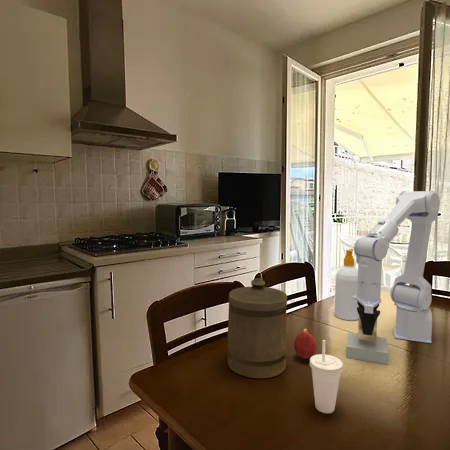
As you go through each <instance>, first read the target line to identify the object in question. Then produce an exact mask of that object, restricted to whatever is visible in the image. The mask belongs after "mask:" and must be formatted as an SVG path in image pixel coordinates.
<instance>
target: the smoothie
mask: <svg viewBox="0 0 450 450" xmlns="http://www.w3.org/2000/svg"><path fill="white" fill-rule="evenodd" d="M321 348H322V350H321V354H320V353H319V354H313V355H312V356H311V357H309V367H310V368H311V375H312V377H311V378H312V386H313V397H314V406H315V408H316V410H317V411H318V412H321V413H323V414H332V413H333V412H335V409H336V408H335V407H336V403H337V397H338V393H339V392H338V391H339V385H340V379H341V373H342V372H343V370H344V363H343V361H342V360H341V359H339V358H338V357H336V356H334V355H330V354H326V340H325V339H322V347H321Z"/></svg>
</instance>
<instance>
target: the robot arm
mask: <svg viewBox="0 0 450 450" xmlns="http://www.w3.org/2000/svg"><path fill="white" fill-rule="evenodd" d="M440 204H441V201H440V198H439V194H438V193H437V192H436V190H428V191H427V190H424V191H423V190H420V191H417V190H416V191H415V190H414V191H409V190H402V191H400V193H399V194H398V195H397V196H396V199H395V206H394V208H393V209H392V210H391V212H390V213H389V214H388V216H387V217H386V218H381V219H379V220H378V221H377V223H376V224H375V225H374V226H373V228H371V230H369V232H368V233H367V234H366V236H361V237H360V238H358V239H357V240H356V241H355V244H354V246H353V252H354V255H355V256H356V257H355V258H356V263H357V267H358V268H357V270H358V288H357V296H356V295H353V300H357V304H358V306H359V307H357V312H358V314H359V316H360V319H361V324H362V331H363V334H364V335H372V333H373V330H374V325H375V322H376V320H377V321H378V318H379V316H380V315H381V310H378V309H379V307H380V304H382V299H381V290H382V289H381V288H382V286H381V285H382V265H383V261H382V260H384V259H385V258H386V256H387V255H388V249H389V248H390V244H391V242H392V240H394V239H395V237H396V236H397V235H398V234H399V226H400V225H401V224H402V223H403V222H404V221H405V220H406V219H407V220H409V221H410V222H411V230H410V235H409V240H408V241H409V242H408V247H407V254H406V257H405V258H406V259H405V265H404V271H403V273H402V274H400V275H399V276H397V277H395V278H394V281H393V285H392V287H391V289H390V299H391V301H392V302H393V303H394V304H393V305H394V306H396V310H395V311H396V312H395V313H396V315H395V327H393V328H392V331H393V335H394V338H395V339H397V340H398V339H399V340H406V341H413V342H419V343H427V344H432V335H433V334H432V331H433V313H432V310H431V309H428V308H429V307H430V306H431V303H432V285H431V283H429V282H428V280H427V279H425V278H424V272H425V265H426V260H427V253H428V248H429V242H430V236H431V230H432V224H433V222H435V221H437V219H438V215H439V210H440Z"/></svg>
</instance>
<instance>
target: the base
mask: <svg viewBox="0 0 450 450" xmlns="http://www.w3.org/2000/svg"><path fill="white" fill-rule="evenodd" d="M345 348H346V351H345V352H346V353H345V354H346V356H345V358H346V359H347V358H348V359H353V360H357V361H359V360H360V361H365V362H371V363H376V364H381V365H389V347H388V341H387V337H381V336H377V338H376V341H369V340H363V339H358V333H354V332H347V340H346V347H345Z"/></svg>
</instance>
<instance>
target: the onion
mask: <svg viewBox="0 0 450 450" xmlns="http://www.w3.org/2000/svg"><path fill="white" fill-rule="evenodd" d="M308 330H309V329H307V328H304V329H303V331H302V332H301V333H300V332H299V334H298V335H296V337H295V338H294V341H293V349H294V351H295V353H296V354H297V355H298V356H299V357H300V358H301V359H302V360H307V359H308V358H309V359H310V358H311V357H312V356H314V355H315V353H316V351H317V346H318V345H317V342H316V340H315V338H314V336H313V335H312V334H311V333H309V331H308Z"/></svg>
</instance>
